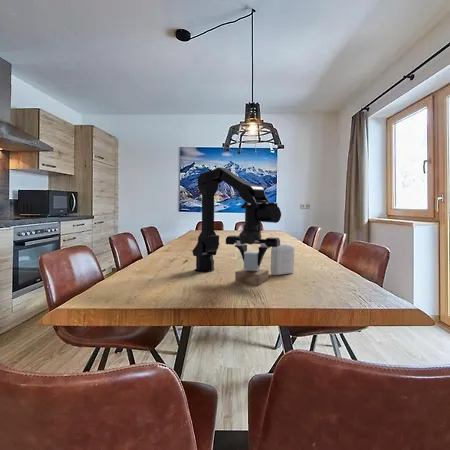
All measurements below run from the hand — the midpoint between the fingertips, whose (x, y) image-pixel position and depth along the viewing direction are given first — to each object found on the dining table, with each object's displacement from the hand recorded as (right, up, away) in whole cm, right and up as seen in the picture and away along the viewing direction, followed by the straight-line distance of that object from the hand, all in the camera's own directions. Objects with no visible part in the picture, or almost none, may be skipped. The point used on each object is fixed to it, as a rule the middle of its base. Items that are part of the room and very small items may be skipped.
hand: (252, 265), depth 121 cm
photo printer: (+13, -5, +14) cm, 20 cm away
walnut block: (0, -6, 0) cm, 6 cm away
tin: (0, -1, 0) cm, 1 cm away
